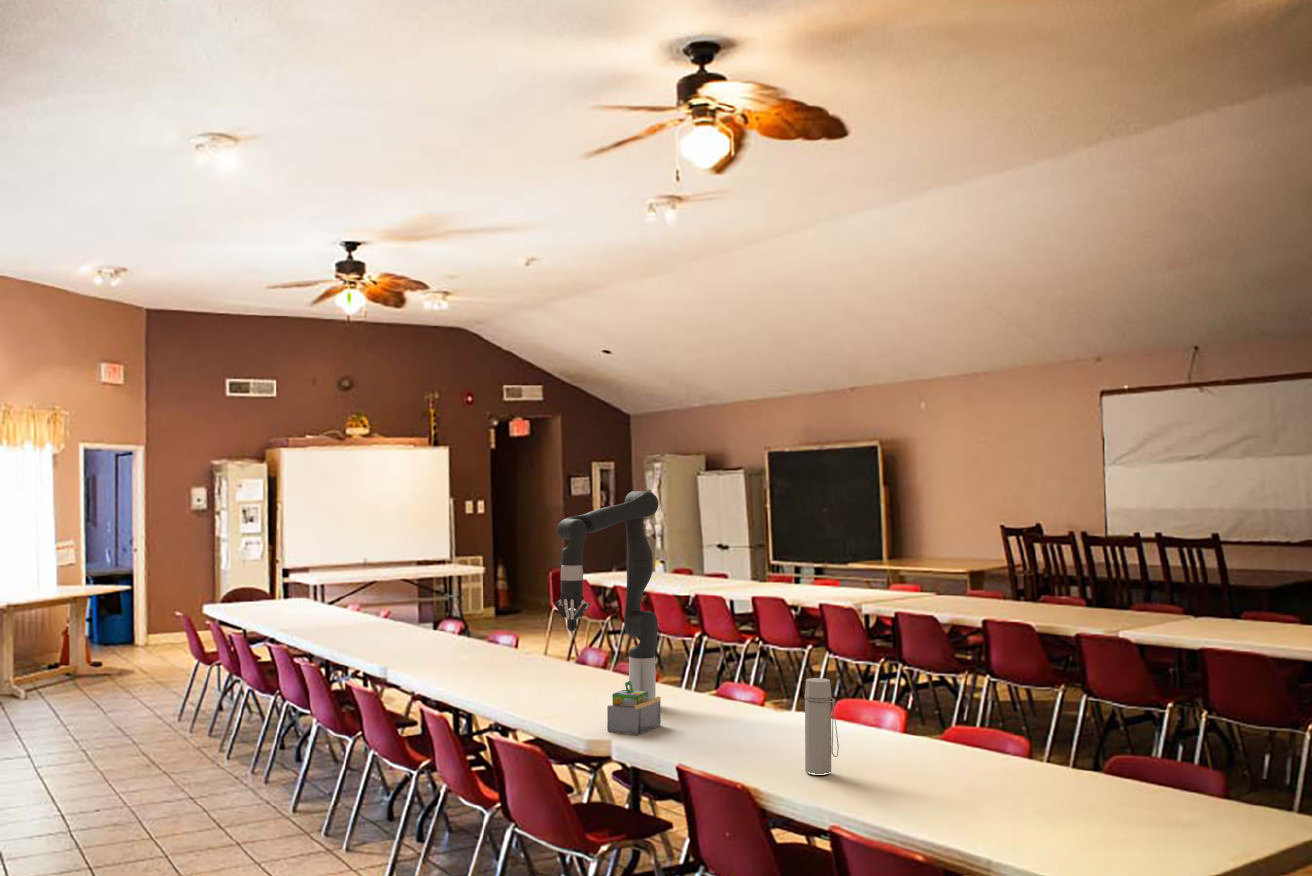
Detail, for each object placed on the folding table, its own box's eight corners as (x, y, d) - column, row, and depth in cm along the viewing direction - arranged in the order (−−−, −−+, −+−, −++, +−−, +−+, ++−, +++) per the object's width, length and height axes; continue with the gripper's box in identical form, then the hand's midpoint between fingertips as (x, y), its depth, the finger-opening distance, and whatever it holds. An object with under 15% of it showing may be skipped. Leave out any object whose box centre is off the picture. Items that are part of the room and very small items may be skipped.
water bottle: (801, 776, 306) (801, 681, 307) (808, 769, 313) (807, 677, 314) (835, 779, 302) (835, 683, 303) (841, 772, 310) (841, 679, 311)
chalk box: (638, 733, 359) (638, 685, 359) (611, 730, 362) (611, 683, 363) (649, 727, 367) (649, 680, 368) (623, 724, 371) (623, 678, 371)
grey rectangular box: (630, 722, 374) (630, 694, 375) (660, 725, 369) (660, 696, 370) (606, 732, 360) (606, 702, 360) (637, 735, 355) (637, 705, 355)
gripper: (594, 578, 384) (594, 630, 383) (560, 577, 390) (560, 628, 389) (583, 580, 377) (583, 633, 377) (549, 578, 383) (549, 630, 383)
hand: (571, 630), depth 383 cm, fingers closed
